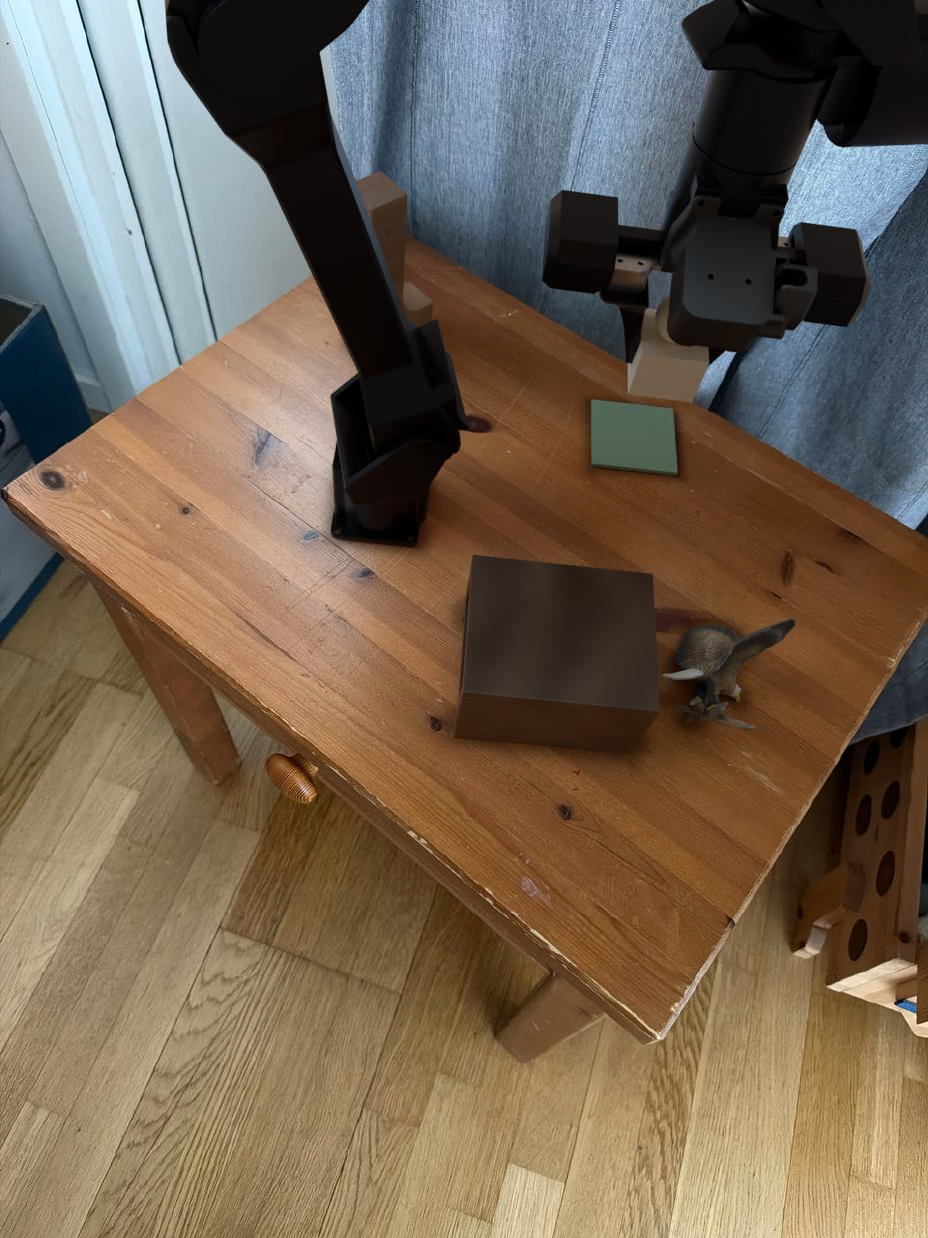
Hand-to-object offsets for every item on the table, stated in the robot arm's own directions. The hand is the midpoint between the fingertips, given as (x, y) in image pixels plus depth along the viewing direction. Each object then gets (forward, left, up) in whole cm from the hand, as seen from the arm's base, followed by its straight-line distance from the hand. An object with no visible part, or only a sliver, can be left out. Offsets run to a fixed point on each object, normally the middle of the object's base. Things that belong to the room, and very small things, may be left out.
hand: (663, 363), depth 60 cm
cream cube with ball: (0, 0, -1) cm, 1 cm away
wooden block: (-20, +13, -13) cm, 27 cm away
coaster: (+1, +5, -13) cm, 14 cm away
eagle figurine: (+6, -17, -13) cm, 22 cm away
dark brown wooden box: (-6, -18, -13) cm, 23 cm away
